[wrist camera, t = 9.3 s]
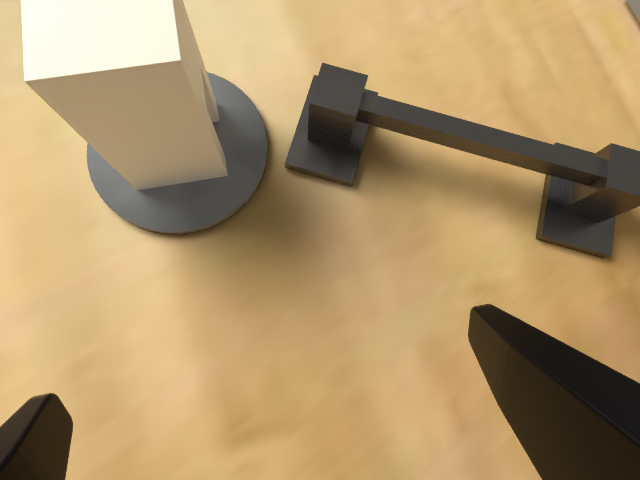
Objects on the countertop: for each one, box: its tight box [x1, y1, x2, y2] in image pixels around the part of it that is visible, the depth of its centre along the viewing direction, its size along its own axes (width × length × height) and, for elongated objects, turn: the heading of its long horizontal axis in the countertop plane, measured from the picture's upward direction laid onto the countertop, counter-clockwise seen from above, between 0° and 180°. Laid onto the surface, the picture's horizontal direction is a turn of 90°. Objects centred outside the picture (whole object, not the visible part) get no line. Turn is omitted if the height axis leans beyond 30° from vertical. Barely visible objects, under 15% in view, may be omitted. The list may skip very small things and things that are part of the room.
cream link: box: [21, 0, 228, 190], centre depth 19 cm, size 5×5×10 cm
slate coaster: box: [87, 72, 268, 234], centre depth 25 cm, size 10×10×1 cm
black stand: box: [285, 63, 640, 258], centre depth 23 cm, size 6×19×4 cm, turn 75°
